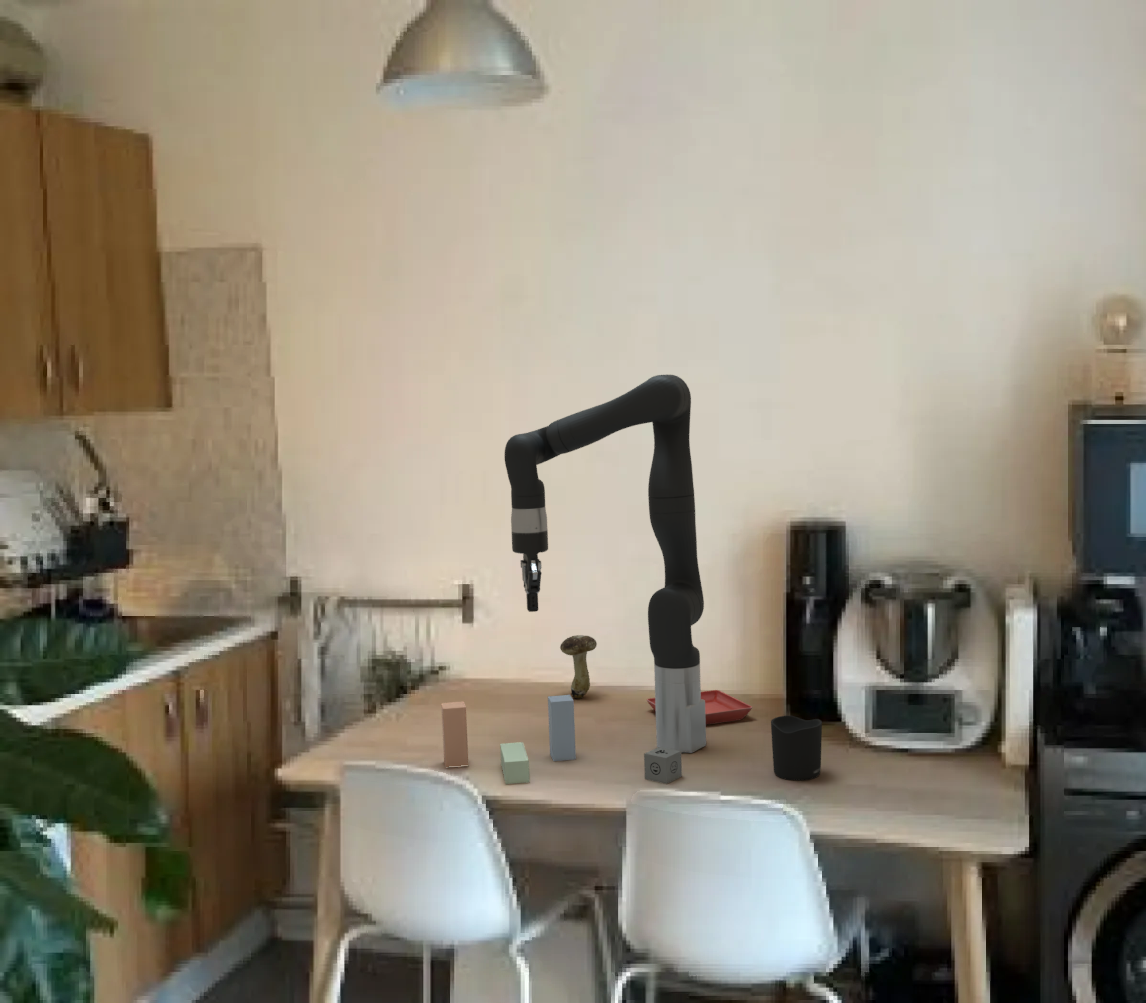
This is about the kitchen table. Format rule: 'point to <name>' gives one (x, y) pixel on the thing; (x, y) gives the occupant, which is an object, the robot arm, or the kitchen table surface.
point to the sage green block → (514, 763)
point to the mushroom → (579, 662)
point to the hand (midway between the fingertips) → (532, 610)
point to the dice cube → (663, 765)
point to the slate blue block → (561, 727)
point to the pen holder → (796, 747)
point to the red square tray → (719, 707)
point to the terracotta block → (454, 734)
